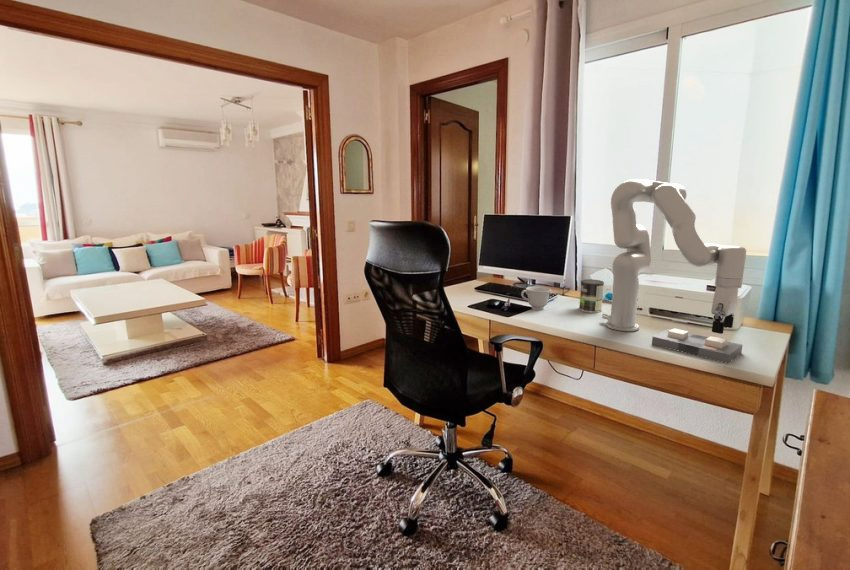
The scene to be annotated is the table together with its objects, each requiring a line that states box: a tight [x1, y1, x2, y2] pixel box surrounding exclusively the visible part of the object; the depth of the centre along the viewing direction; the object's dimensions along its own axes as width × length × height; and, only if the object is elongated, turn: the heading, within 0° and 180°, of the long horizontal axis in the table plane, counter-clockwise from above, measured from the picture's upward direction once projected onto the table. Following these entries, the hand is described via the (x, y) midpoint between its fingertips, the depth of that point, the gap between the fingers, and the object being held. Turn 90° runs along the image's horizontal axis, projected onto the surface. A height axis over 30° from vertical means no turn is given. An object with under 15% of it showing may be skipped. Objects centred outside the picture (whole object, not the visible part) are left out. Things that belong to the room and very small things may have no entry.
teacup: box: [520, 285, 552, 311], centre depth 205 cm, size 12×15×10 cm
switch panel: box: [651, 328, 743, 364], centre depth 150 cm, size 24×14×3 cm, turn 39°
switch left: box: [668, 327, 689, 340], centre depth 155 cm, size 5×5×3 cm
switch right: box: [705, 335, 728, 349], centre depth 145 cm, size 5×5×3 cm
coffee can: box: [578, 278, 605, 314], centre depth 201 cm, size 10×10×14 cm
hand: (722, 329), depth 147 cm, fingers open, 9 cm apart
